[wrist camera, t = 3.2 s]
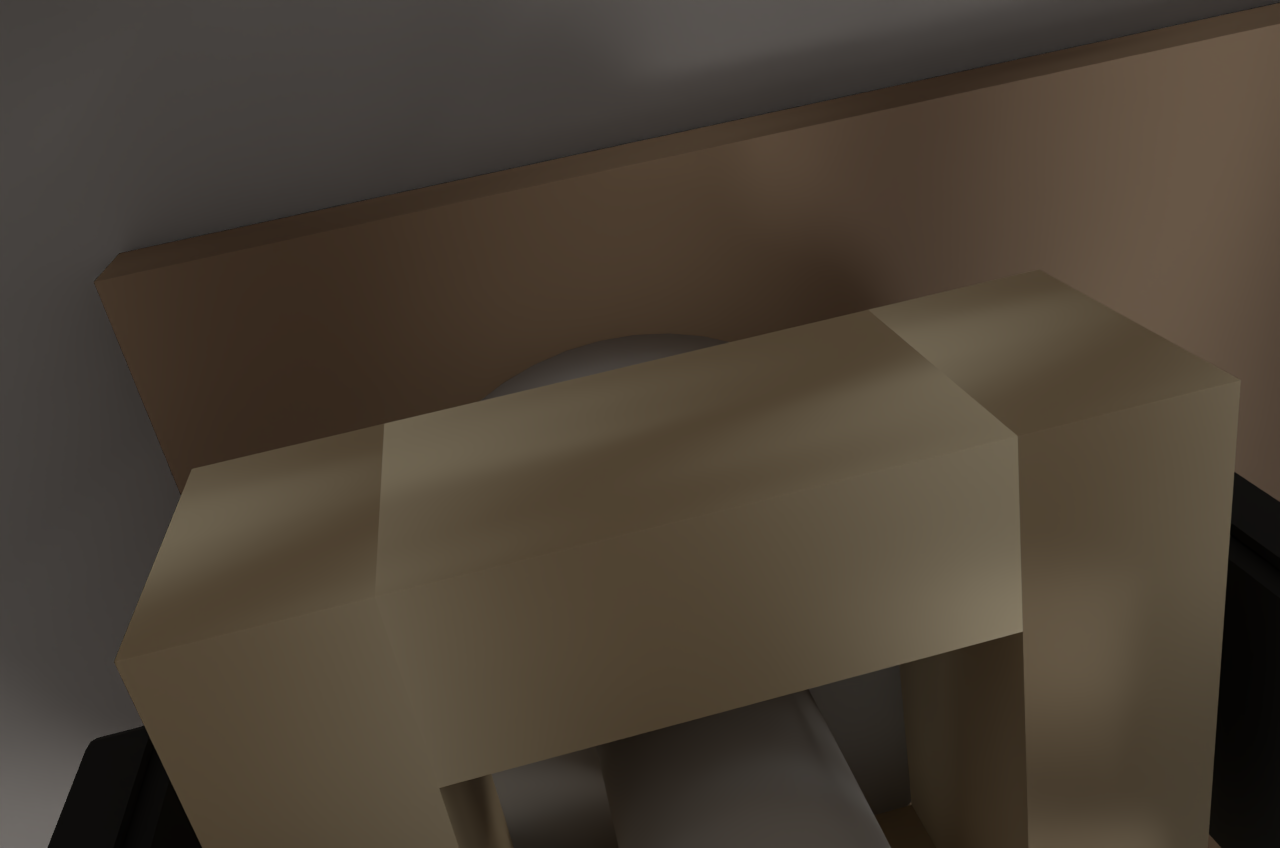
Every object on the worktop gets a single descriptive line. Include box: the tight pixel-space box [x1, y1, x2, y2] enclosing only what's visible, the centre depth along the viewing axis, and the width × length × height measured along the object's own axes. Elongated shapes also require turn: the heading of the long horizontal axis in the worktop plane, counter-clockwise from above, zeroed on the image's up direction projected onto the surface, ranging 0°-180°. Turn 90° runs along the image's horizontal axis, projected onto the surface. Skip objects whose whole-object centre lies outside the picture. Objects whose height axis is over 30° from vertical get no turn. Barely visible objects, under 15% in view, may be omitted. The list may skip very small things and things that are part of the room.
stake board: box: [94, 3, 1280, 848], centre depth 11 cm, size 14×12×8 cm
